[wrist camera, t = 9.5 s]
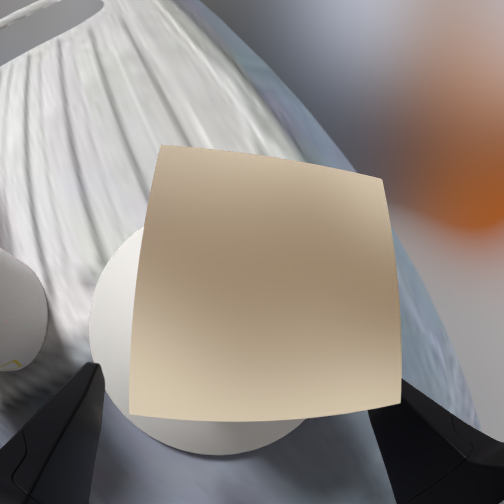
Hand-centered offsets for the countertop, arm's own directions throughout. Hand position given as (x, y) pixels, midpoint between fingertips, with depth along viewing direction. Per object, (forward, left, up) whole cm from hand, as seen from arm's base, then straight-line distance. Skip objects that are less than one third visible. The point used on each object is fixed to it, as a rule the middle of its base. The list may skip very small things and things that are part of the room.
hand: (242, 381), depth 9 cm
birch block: (+1, +2, -8) cm, 9 cm away
